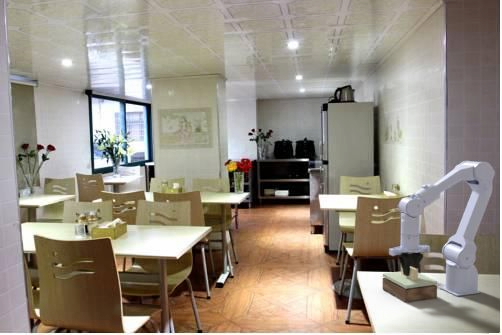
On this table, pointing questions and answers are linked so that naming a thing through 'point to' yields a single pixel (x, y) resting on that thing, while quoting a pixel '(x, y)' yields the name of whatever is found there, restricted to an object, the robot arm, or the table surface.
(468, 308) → the table surface
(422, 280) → the lid
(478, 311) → the table surface
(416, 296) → the wooden open box
